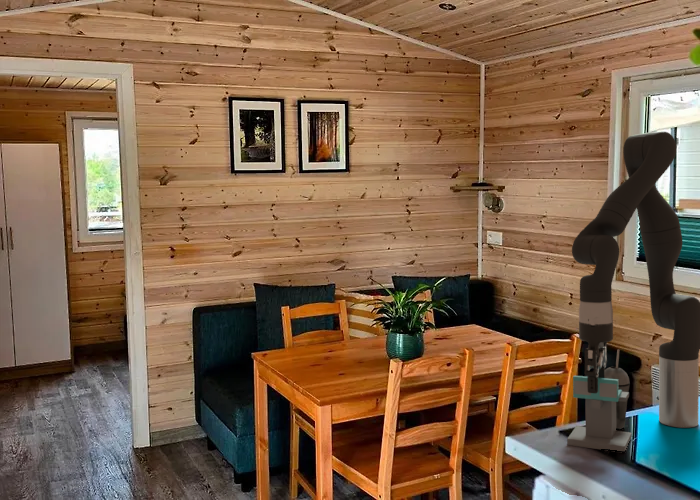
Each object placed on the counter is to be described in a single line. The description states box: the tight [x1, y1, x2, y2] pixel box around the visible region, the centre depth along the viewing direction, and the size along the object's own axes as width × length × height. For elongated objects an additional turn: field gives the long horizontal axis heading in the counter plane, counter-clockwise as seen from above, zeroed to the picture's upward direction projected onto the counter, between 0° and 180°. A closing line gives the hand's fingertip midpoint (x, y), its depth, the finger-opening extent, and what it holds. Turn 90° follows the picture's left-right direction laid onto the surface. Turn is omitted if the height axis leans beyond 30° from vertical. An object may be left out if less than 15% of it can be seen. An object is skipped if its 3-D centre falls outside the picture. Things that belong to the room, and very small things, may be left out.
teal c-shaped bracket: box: [572, 375, 622, 402], centre depth 170 cm, size 7×10×5 cm
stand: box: [566, 391, 633, 451], centre depth 171 cm, size 10×13×12 cm
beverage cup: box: [605, 348, 631, 428], centre depth 181 cm, size 7×7×20 cm
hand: (596, 388), depth 167 cm, fingers open, 8 cm apart
